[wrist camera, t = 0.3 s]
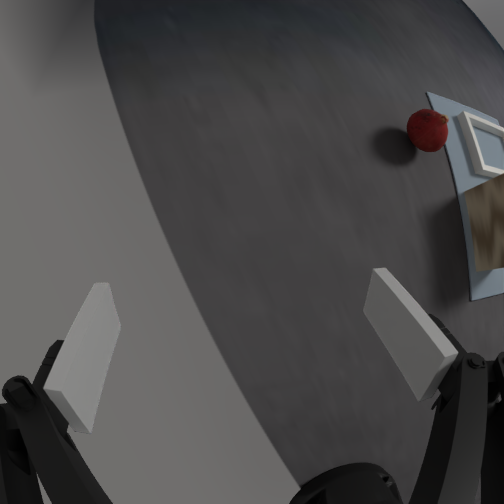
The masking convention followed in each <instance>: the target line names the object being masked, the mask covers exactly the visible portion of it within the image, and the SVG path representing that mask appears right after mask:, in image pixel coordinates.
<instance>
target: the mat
mask: <svg viewBox="0 0 504 504" xmlns="http://www.w3.org/2000/svg"><path fill="white" fill-rule="evenodd" d="M426 93H427V96H428V98H429V101H430V104H431V106H432V109H433V110H434V111H437V112H438V113H440V114H444V115H447V116H448V118H449V121H448V123H447V126H448V137H447V141H446V143H445V144H444V145H445V148H446V151H447V155H448V159H449V162H450V166H451V170H452V174H453V178H454V182H455V186H456V191H457V196H458V200H459V205H460V211H461V216H462V222H463V228H464V235H465V242H466V250H467V259H468V269H469V281H470V299H471V301H473V300H477V299H481V298H485V297H489V296H493V295H497V294H501V293H504V268H499V269H493V270H486V271H479V272H476V266H475V256H474V247H473V240H472V233H471V226H470V220H469V215H468V209H467V204H466V199H465V195H464V191H467V190H469V189H471V188H473V187H475V186H477V185H480V184H482V183H484V182H486V181H488V180H490V179H492V177H488V176H483V175H479V174H475V171H474V167H473V164H472V160H471V157H470V153H469V150H468V147H467V144H466V141H465V138H464V135H463V132H462V129H461V126H460V123H459V120H458V118H457V115H459V114H460V113H461V112H462V111H465V112H468V113H470V114H473V115H475V116H478V117H480V118H483V119H485V120H487V121H489V122H492V123H494V124H496V125H498V126H499V123H498V120H497V119H495V118H492V117H490V116H488V115H486V114H484V113H481V112H479V111H477V110H475V109H472V108H470V107H467V106H465V105H462V104H460V103H457V102H455V101H452V100H449V99H447V98H444V97H441V96H438V95H435V94H433V93H430V92H426ZM472 127H473V130H474V132H475V135H476V138H477V141H478V144H479V147H480V150H481V154H482V157H483V160H484V164H485V165H488V166H491V167H495V168H498V169H502V170H504V142H503V139H502V137H500V136H497V135H495V134H493V133H490V132H488V131H485V130H483V129H480V128H477V127H475V126H472Z"/></svg>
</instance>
